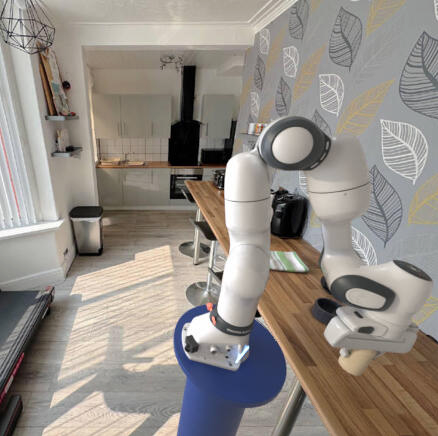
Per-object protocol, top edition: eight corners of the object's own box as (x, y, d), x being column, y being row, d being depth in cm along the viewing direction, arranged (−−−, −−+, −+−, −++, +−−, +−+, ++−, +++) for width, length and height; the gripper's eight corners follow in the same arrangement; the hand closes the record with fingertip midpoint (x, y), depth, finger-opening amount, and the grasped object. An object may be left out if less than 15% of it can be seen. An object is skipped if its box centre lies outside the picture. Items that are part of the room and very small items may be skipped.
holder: (321, 326, 88) (326, 316, 86) (306, 306, 97) (310, 296, 95) (349, 328, 88) (355, 318, 86) (331, 307, 97) (335, 298, 95)
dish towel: (309, 274, 118) (311, 268, 116) (261, 269, 119) (263, 264, 118) (293, 255, 133) (294, 250, 132) (251, 252, 135) (252, 246, 134)
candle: (345, 374, 64) (361, 349, 60) (333, 355, 69) (348, 331, 65) (367, 378, 64) (385, 353, 59) (353, 358, 69) (369, 334, 64)
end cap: (337, 284, 111) (342, 272, 109) (350, 294, 105) (356, 282, 102) (317, 284, 110) (322, 272, 108) (329, 295, 104) (335, 283, 101)
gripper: (409, 313, 62) (384, 349, 67) (331, 307, 62) (312, 343, 68) (435, 334, 56) (405, 371, 62) (348, 327, 56) (326, 364, 62)
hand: (356, 356), depth 65 cm, fingers closed on candle, 5 cm apart
